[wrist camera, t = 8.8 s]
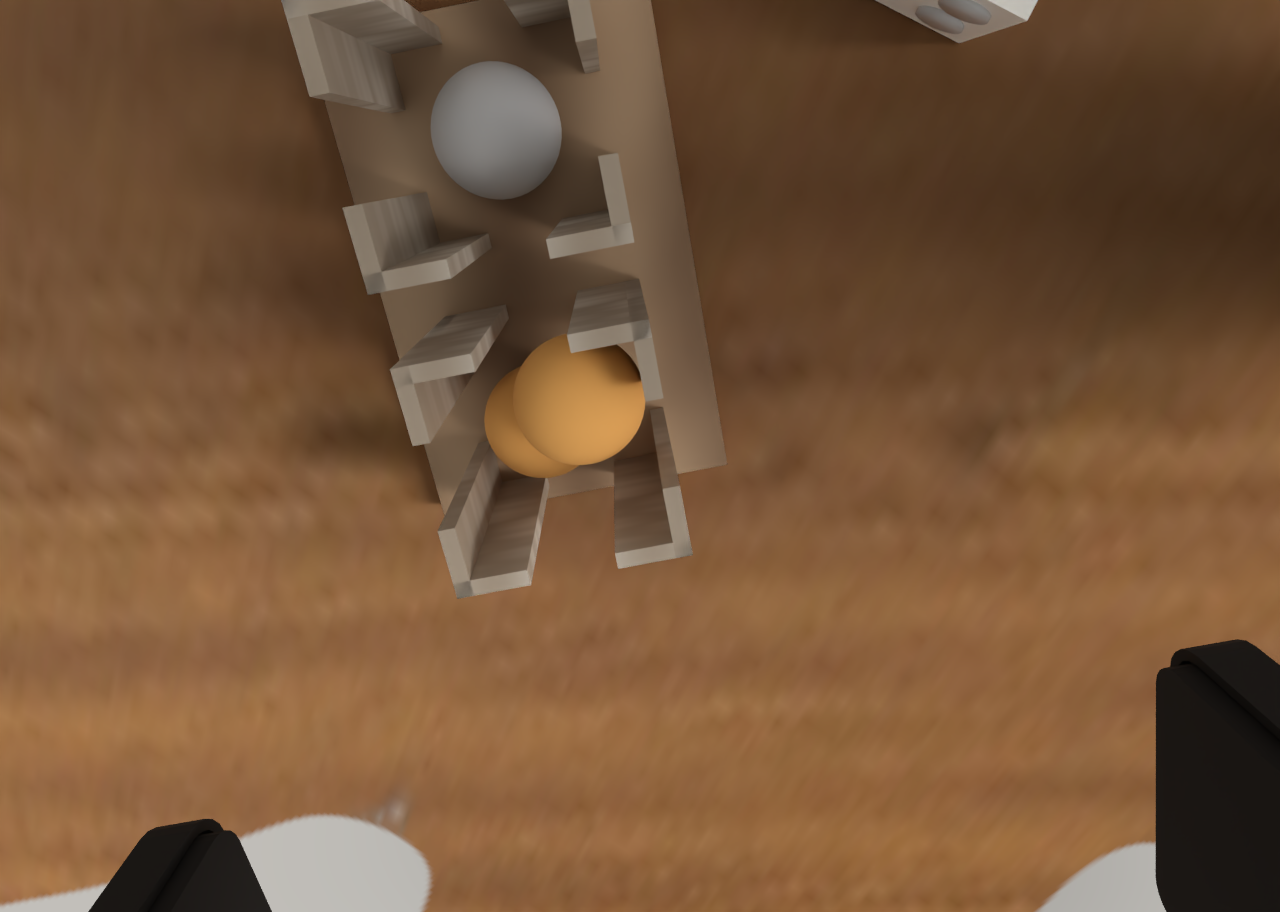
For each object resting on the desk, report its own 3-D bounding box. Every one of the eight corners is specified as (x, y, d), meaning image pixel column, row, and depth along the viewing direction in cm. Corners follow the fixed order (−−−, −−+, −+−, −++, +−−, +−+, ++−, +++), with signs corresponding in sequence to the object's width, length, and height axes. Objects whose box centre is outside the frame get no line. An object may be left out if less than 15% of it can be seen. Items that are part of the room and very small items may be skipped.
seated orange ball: (600, 338, 29) (562, 392, 26) (625, 437, 31) (592, 499, 28) (498, 348, 31) (449, 400, 28) (527, 442, 33) (485, 501, 30)
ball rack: (643, -27, 28) (659, -110, 19) (723, 454, 34) (762, 557, 25) (317, 41, 28) (188, -12, 20) (450, 505, 34) (395, 625, 25)
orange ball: (539, 405, 29) (622, 323, 28) (601, 496, 27) (691, 414, 26) (464, 383, 25) (555, 289, 24) (529, 486, 24) (629, 391, 23)
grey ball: (550, 56, 28) (540, 40, 24) (576, 184, 29) (571, 188, 25) (429, 81, 28) (401, 69, 24) (461, 207, 29) (438, 214, 25)
